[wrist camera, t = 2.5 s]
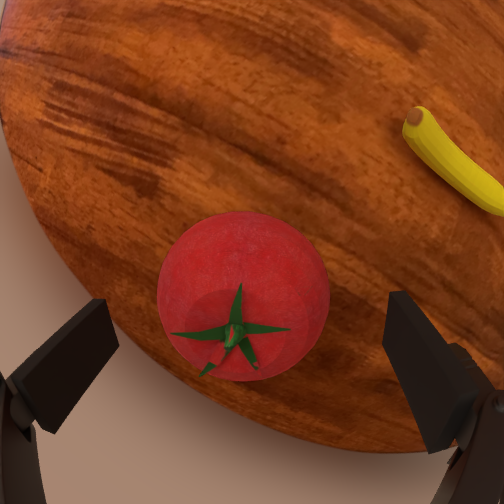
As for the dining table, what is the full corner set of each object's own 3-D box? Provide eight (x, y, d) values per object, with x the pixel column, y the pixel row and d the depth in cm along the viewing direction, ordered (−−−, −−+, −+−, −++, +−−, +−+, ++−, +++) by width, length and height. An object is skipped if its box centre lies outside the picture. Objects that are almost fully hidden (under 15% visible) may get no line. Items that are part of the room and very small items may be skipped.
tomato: (225, 348, 21) (203, 436, 13) (155, 243, 19) (87, 299, 11) (342, 298, 19) (374, 380, 11) (278, 173, 17) (280, 187, 9)
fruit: (495, 195, 16) (540, 209, 11) (483, 219, 16) (527, 239, 11) (390, 105, 15) (428, 91, 10) (376, 133, 15) (411, 127, 11)
